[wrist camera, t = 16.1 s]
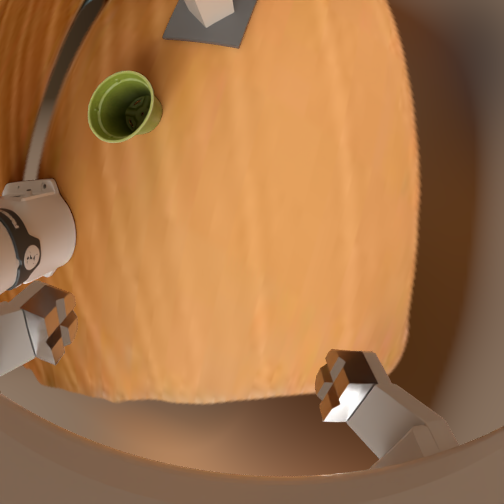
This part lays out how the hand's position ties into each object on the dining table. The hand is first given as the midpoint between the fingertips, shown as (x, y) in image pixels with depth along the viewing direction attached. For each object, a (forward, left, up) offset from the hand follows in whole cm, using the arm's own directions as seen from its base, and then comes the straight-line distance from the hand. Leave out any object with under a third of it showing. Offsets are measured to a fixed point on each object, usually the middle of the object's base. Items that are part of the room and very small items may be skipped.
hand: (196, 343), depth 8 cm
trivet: (-13, +28, -33) cm, 45 cm away
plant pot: (-18, +9, -33) cm, 39 cm away
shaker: (-13, +28, -32) cm, 45 cm away
